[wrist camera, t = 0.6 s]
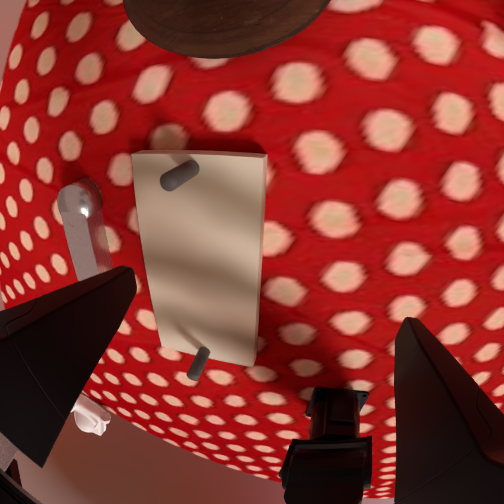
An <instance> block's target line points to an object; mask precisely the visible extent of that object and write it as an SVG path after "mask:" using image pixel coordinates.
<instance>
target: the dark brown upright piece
mask: <svg viewBox="0 0 504 504" xmlns="http://www.w3.org/2000/svg"><path fill="white" fill-rule="evenodd" d="M330 1H331V0H123V3H124V7H125V10H126V13H127V16H128V18H129V19H130V21H131V23H132V24H133V26H134V27H135V29H136V30H137V31H138V32H139V33H140V34H141V35H142V36H143V37H145V38H146V39H147V40H149V41H150V42H152V43H153V44H155V45H157V46H159V47H161V48H163V49H165V50H168V51H171V52H174V53H178V54H182V55H186V56H191V57H196V58H206V59H220V58H232V57H239V56H244V55H249V54H253V53H256V52H260V51H263V50H265V49H268V48H271V47H273V46H276V45H278V44H280V43H282V42H284V41H286V40H288V39H290V38H291V37H293V36H295V35H296V34H298V33H299V32H301V31H302V30H304V29H305V28H306V27H307V26H309V25H310V24H311V23H312V22H313V21H314V20H315V19H316V18H317V17H318V16H319V15H320V14H321V13H322V12H323V11H324V10H325V8H326V7H327V5H328V4H329V2H330Z"/></svg>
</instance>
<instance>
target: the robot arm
mask: <svg viewBox="0 0 504 504" xmlns="http://www.w3.org/2000/svg"><path fill="white" fill-rule="evenodd" d="M136 292H137V285H136V279H135V273H134V270H133V268H132V267H128V266H124V265H122V266H119V267H116V268H113V269H111V270H108V271H105V272H103V273H100V274H97V275H94V276H92V277H89V278H87V279H84V280H81V281H79V282H76V283H73V284H71V285H68V286H66V287H63V288H60V289H58V290H55V291H53V292H50V293H48V294H45V295H43V296H40V297H39V298H35V299H32V300H30V301H27V302H25V303H22V304H19V305H17V306H14V307H11V308H8V309H5V310H2V311H0V504H42V503H41V502H40V501H38V500H37V499H36V498H34V497H33V496H32V495H31V494H29V493H28V492H27V491H26V490H24V489H23V488H22V484H21V479H20V475H19V469H18V464H17V461H16V460H15V459H14V457H15V455H16V454H17V452H18V451H20V452H21V453H23V454H24V455H25V456H26V457H27V458H29V459H30V460H31V461H33V462H34V463H35V464H37V465H38V466H39V467H41V468H42V467H43V466H44V464H45V462H46V460H47V457H48V456H49V454H50V452H51V450H52V448H53V445H54V443H55V441H56V439H57V437H58V435H59V433H60V431H61V430H62V428H63V426H64V424H65V421H66V419H67V418H68V416H69V414H70V412H71V410H72V408H73V406H74V405H75V403H76V401H77V399H78V397H79V395H80V394H81V392H82V390H83V388H84V386H85V385H86V383H87V381H88V379H89V378H90V376H91V374H92V372H93V371H94V369H95V367H96V365H97V364H98V362H99V360H100V359H101V357H102V355H103V353H104V352H105V350H106V348H107V347H108V345H109V343H110V342H111V340H112V339H113V337H114V335H115V334H116V332H117V330H118V329H119V327H120V325H121V323H122V321H123V319H124V317H125V315H126V313H127V311H128V309H129V307H130V305H131V302H132V300H133V298H134V297H135V294H136ZM317 390H320V391H317ZM394 393H395V411H396V480H395V497H394V502H395V503H394V504H504V414H503V413H502V412H501V411H500V410H499V409H498V407H497V406H496V405H495V404H494V403H493V402H492V401H491V399H490V398H489V397H488V396H487V395H486V394H485V392H484V391H483V390H482V389H481V388H479V385H478V384H477V383H476V382H475V381H474V379H473V378H472V377H471V376H470V375H469V374H468V373H467V371H466V370H465V369H464V368H463V367H462V366H461V365H460V363H459V362H458V361H457V360H456V359H455V358H454V357H453V356H452V355H451V353H450V352H449V351H448V350H447V349H446V348H445V347H444V346H443V345H442V344H441V342H440V341H439V340H438V339H437V338H436V337H435V336H434V335H433V334H432V333H431V332H430V331H429V330H428V329H427V328H426V326H425V325H424V324H423V323H422V322H421V321H420V320H419V319H417V318H412V317H406V318H405V319H404V320H403V323H402V325H401V327H400V329H399V331H398V333H397V335H396V339H395V367H394ZM365 394H366V395H365ZM368 397H369V393H368V392H364V391H351V390H341V389H331V388H322V387H316V388H314V391H313V394H312V397H311V400H310V403H309V406H308V408H307V411H306V416H308V417H311V422H310V429H309V437H308V440H298V439H292V442H291V445H289V449H288V452H287V455H286V458H285V461H284V464H283V466H282V468H281V470H280V471H279V477H280V478H281V479H282V486H283V489H284V490H285V494H284V499H285V502H286V504H361V502H362V497H363V489H370V486H371V477H372V436H367V437H359V431H360V411H361V409H362V407H363V405H364V404H365V402H366V400H367V398H368Z"/></svg>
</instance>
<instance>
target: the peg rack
mask: <svg viewBox="0 0 504 504" xmlns="http://www.w3.org/2000/svg"><path fill="white" fill-rule="evenodd" d="M131 155H132V168H133V179H134V189H135V198H136V207H137V215H138V222H139V230H140V237H141V243H142V250H143V256H144V262H145V268H146V273H147V279H148V284H149V290H150V295H151V300H152V304H153V309H154V314H155V318H156V323H157V327H158V332H159V336H160V340H161V344H162V346H163V347H166V348H170V349H174V350H178V351H182V352H186V353H190V354H194V355H196V356H195V358H194V360H193V362H192V364H191V366H190V368H189V370H188V373H187V377H188V378H189V379H191V380H194V381H197V380H199V377H200V375H201V373H202V371H203V368H204V366H205V364H206V362H207V359H208V358H211V359H215V360H220V361H225V362H229V363H234V364H239V365H244V366H249V367H253V366H254V363H255V359H256V354H257V338H258V322H259V305H260V288H261V270H262V252H263V233H264V214H265V194H266V174H267V154H259V153H245V152H227V151H203V150H141V151H138V152H136V153H133V154H131Z"/></svg>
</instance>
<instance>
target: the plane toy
mask: <svg viewBox="0 0 504 504" xmlns="http://www.w3.org/2000/svg"><path fill="white" fill-rule="evenodd" d="M72 411H74V415H75V421H76V424H77V426H78V427H79V428H80V429H81V430H82V431H85V432H93V433H95V434H98V435H102V433H103V432H104V431H105V430H106V424H107V423H109V422H110V419H111V416H110V414H109V413H108V412H106V411H105V410H104V409H103V408H101V407H100V406H99V405H98V404H96V403H95V402H93V401H92V400H90V399H89V398H87V397H86V396H84V395H82V394H80V395H79V397H78V399H77V401H76V403H75V405H74V406H73V408H72V410H71V412H72Z"/></svg>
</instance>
